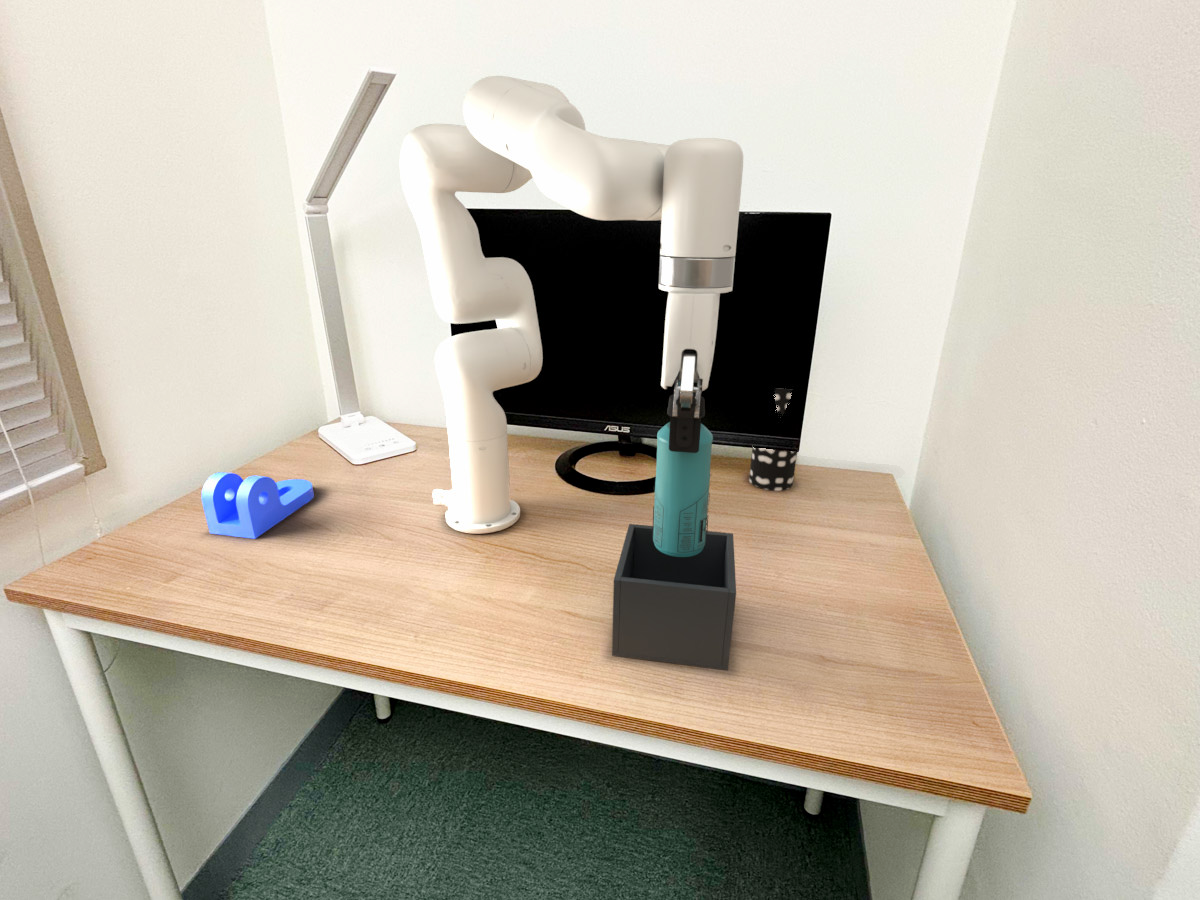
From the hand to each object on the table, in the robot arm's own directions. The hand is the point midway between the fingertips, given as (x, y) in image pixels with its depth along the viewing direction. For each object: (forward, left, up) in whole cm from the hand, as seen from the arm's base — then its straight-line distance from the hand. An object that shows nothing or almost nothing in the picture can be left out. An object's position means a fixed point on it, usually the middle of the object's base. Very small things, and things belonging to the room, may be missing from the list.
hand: (685, 438), depth 69 cm
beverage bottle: (0, 0, -15) cm, 15 cm away
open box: (0, 0, -26) cm, 26 cm away
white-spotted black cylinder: (+16, +49, -26) cm, 58 cm away
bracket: (-71, +19, -26) cm, 78 cm away
